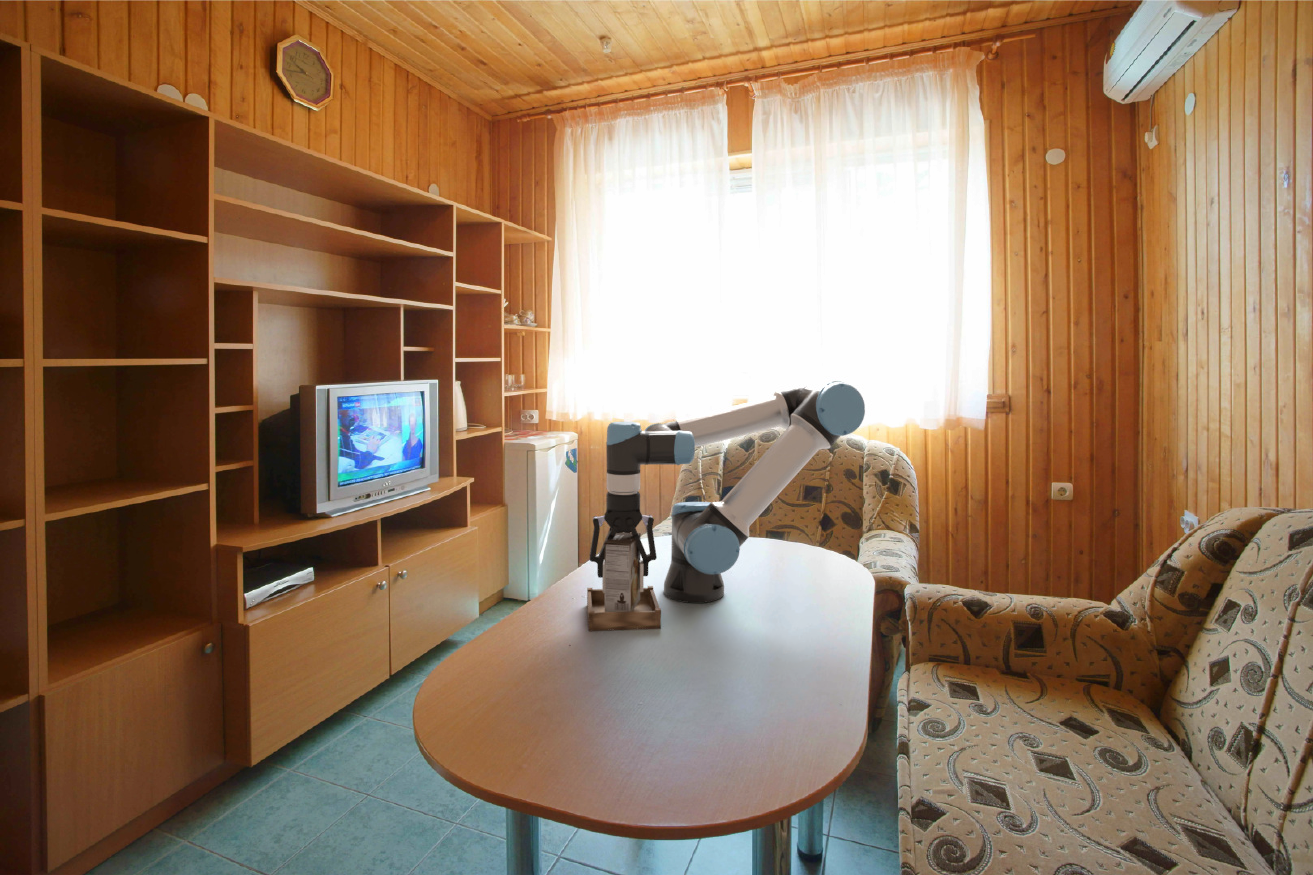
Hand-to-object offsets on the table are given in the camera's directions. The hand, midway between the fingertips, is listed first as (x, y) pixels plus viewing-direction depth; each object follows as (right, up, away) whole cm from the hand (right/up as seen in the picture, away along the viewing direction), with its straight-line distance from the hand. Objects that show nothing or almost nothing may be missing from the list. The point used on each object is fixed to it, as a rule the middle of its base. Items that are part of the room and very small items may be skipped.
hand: (622, 590), depth 154 cm
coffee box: (0, -4, 0) cm, 4 cm away
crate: (0, -6, +1) cm, 6 cm away
